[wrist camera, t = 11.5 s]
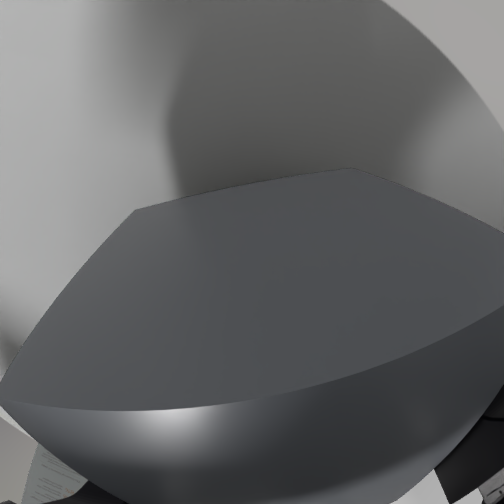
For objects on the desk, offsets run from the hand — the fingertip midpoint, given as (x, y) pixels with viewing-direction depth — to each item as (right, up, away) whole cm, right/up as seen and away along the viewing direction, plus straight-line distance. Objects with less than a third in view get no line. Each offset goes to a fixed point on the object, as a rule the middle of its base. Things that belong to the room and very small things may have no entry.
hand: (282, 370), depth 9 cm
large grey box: (0, +1, +2) cm, 2 cm away
